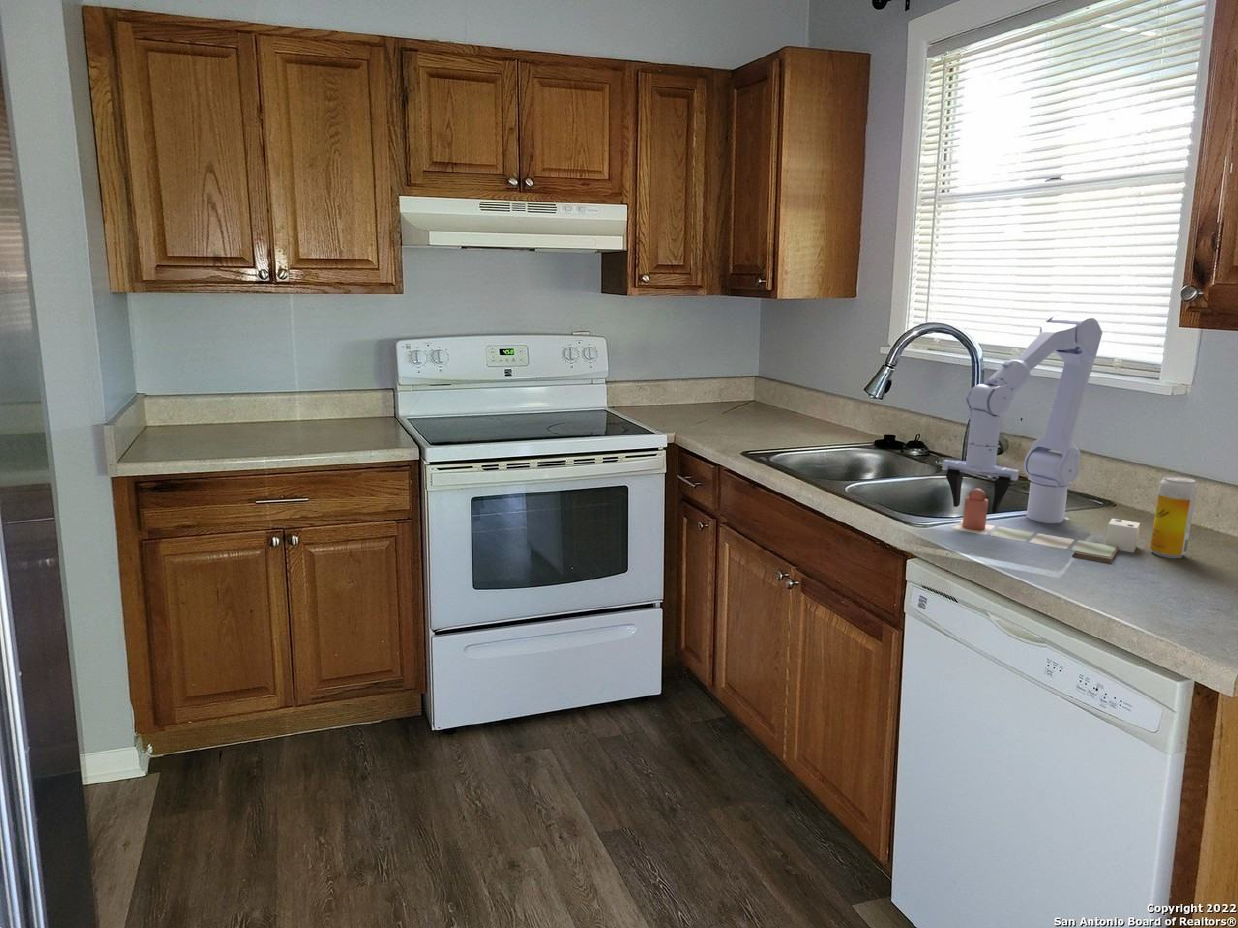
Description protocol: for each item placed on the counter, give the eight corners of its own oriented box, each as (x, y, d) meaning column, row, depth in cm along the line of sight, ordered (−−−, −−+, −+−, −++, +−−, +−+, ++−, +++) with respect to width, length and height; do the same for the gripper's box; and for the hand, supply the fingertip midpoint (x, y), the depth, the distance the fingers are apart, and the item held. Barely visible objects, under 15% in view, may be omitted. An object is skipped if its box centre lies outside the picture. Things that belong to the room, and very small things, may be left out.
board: (961, 523, 199) (961, 519, 199) (1118, 550, 182) (1119, 546, 182) (947, 533, 191) (948, 529, 191) (1110, 563, 174) (1111, 558, 174)
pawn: (965, 523, 196) (969, 485, 194) (987, 526, 193) (991, 488, 191) (959, 527, 192) (964, 488, 190) (981, 531, 190) (986, 492, 188)
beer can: (1152, 547, 185) (1164, 474, 182) (1187, 554, 182) (1200, 479, 178) (1146, 554, 181) (1158, 478, 178) (1182, 561, 177) (1194, 484, 174)
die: (1108, 542, 189) (1112, 517, 187) (1136, 547, 186) (1140, 522, 185) (1104, 547, 185) (1108, 523, 183) (1133, 552, 182) (1137, 527, 181)
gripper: (941, 442, 190) (934, 506, 193) (1016, 451, 182) (1007, 519, 184) (950, 437, 195) (943, 500, 198) (1024, 446, 187) (1016, 512, 190)
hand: (975, 509), depth 192 cm, fingers open, 7 cm apart
